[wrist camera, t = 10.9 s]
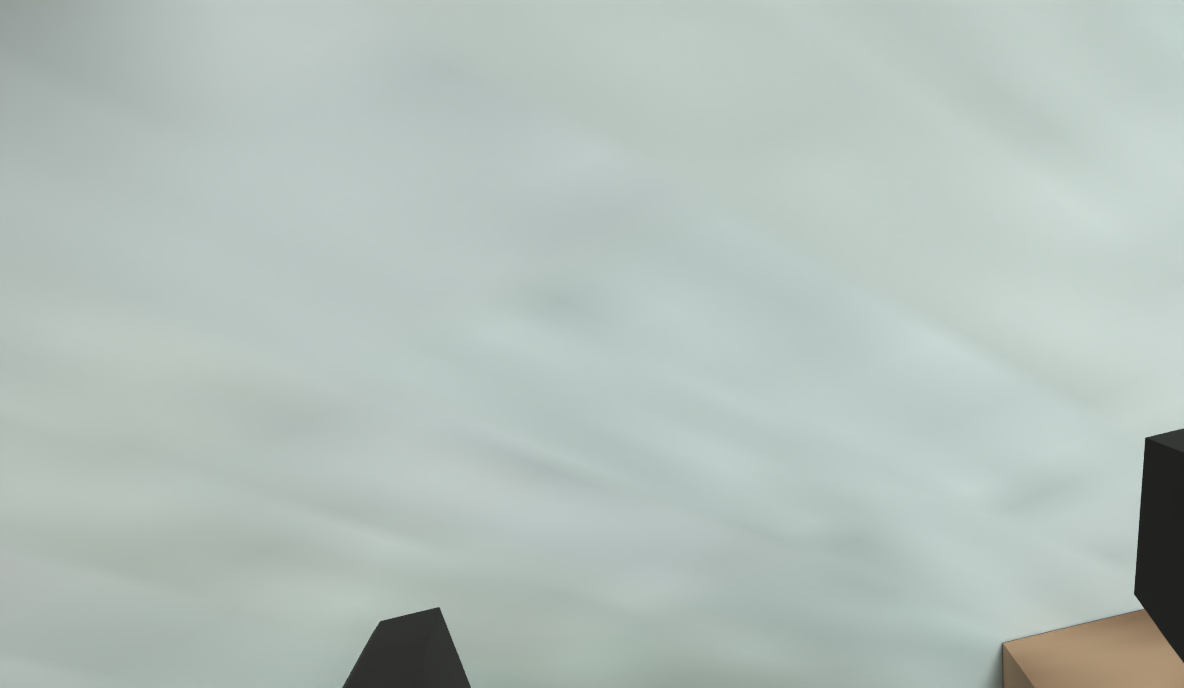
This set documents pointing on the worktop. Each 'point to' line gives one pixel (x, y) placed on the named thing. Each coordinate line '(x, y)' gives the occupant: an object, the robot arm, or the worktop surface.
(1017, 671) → the walnut block
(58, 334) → the worktop surface
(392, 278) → the worktop surface
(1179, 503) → the robot arm
